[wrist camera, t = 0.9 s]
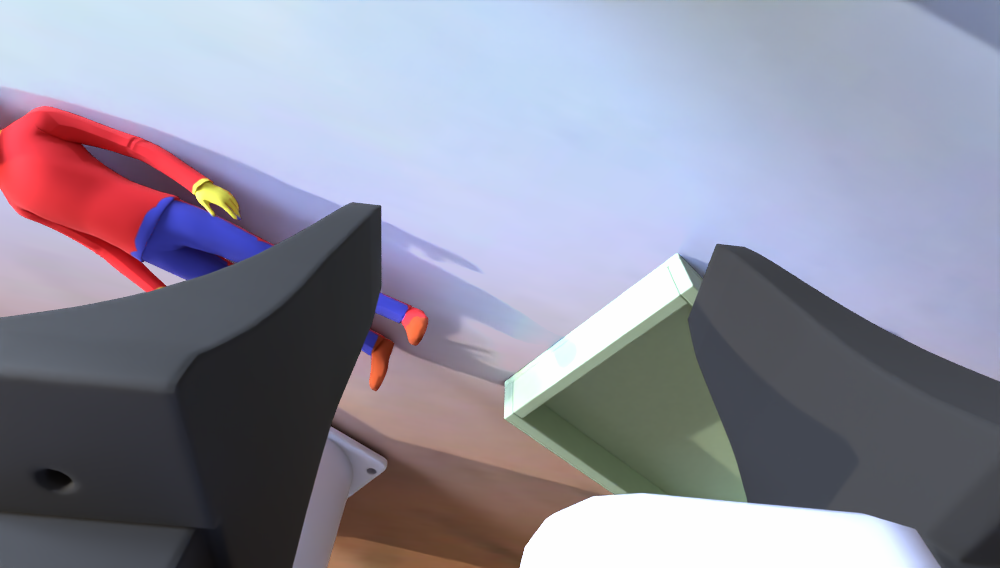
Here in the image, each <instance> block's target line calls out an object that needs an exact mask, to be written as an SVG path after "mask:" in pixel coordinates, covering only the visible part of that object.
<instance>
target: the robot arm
mask: <svg viewBox="0 0 1000 568" xmlns="http://www.w3.org/2000/svg"><path fill="white" fill-rule="evenodd" d="M380 290H381V206H380V205H372V204H363V203H354V202H352V203H349V204H347V205H345V206H343V207H342V208H340V209H338V210H336V211H335V212H333V213H331V214H330V215H328V216H326V217H325V218H323V219H321V220H320V221H318V222H316V223H314V224H313V225H311V226H309V227H308V228H306V229H304V230H302V231H301V232H299V233H297V234H295V235H294V236H292V237H290V238H288V239H286V240H284V241H282V242H280V243H278V244H276V245H274V246H272V247H270V248H268V249H266V250H264V251H262V252H260V253H258V254H256V255H254V256H252V257H249V258H247V259H245V260H242V261H240V262H238V263H235V264H233V265H230V266H227V267H225V268H222V269H220V270H217V271H215V272H212V273H209V274H206V275H203V276H200V277H196V278H193V279H190V280H186V281H183V282H180V283H176V284H173V285H170V286H166V287H163V288H160V289H156V290H152V291H149V292H144V293H140V294H136V295H132V296H128V297H123V298H118V299H113V300H109V301H104V302H99V303H94V304H88V305H83V306H77V307H71V308H64V309H58V310H51V311H44V312H37V313H30V314H23V315H16V316H9V317H0V568H327V566H328V563H329V559H330V556H331V552H332V549H333V546H334V542H335V539H336V535H337V532H338V528H339V525H340V521H341V518H342V514H343V511H344V507H345V504H346V500H347V498H349V497H350V496H351V495H353V494H354V493H355V492H357V491H358V490H359V489H361V488H362V487H363V486H365V485H366V484H367V483H369V482H370V481H371V480H373V479H374V478H375V477H377V476H378V475H379V474H381V473H382V472H383V471H385V469H386V467H387V460H386V459H385V458H384V457H382V456H381V455H379V454H377V453H376V452H374V451H372V450H370V449H369V448H367V447H365V446H364V445H362V444H360V443H359V442H357V441H355V440H353V439H352V438H350V437H348V436H347V435H345V434H343V433H341V432H340V431H338V430H336V429H335V428H333V427H331V423H332V420H333V418H334V415H335V412H336V409H337V407H338V404H339V401H340V399H341V397H342V394H343V392H344V390H345V387H346V385H347V382H348V380H349V378H350V375H351V373H352V371H353V368H354V366H355V363H356V361H357V359H358V356H359V354H360V352H361V349H362V347H363V344H364V342H365V339H366V337H367V335H368V332H369V330H370V327H371V325H372V322H373V318H374V314H375V310H376V306H377V302H378V298H379V294H380ZM688 324H689V329H690V334H691V339H692V343H693V347H694V351H695V355H696V359H697V361H698V364H699V367H700V369H701V372H702V375H703V377H704V380H705V382H706V385H707V387H708V390H709V392H710V395H711V397H712V400H713V402H714V405H715V407H716V409H717V412H718V414H719V417H720V419H721V422H722V424H723V427H724V429H725V432H726V434H727V437H728V439H729V442H730V444H731V447H732V450H733V453H734V456H735V459H736V462H737V465H738V469H739V472H740V476H741V480H742V483H743V487H744V491H745V494H746V498H747V502H748V503H745V502H734V501H724V500H713V499H702V498H691V497H680V496H669V495H658V494H647V493H635V494H621V495H607V496H593V497H591V498H588V499H586V500H584V501H581V502H579V503H577V504H575V505H572V506H570V507H568V508H565V509H563V510H561V511H559V512H556V513H554V514H552V515H551V516H550V517H548V518H547V519H546V520H545V521H544V522H543V524H542V525H541V526H540V528H539V529H538V530H537V532H536V533H535V534H534V536H533V537H532V538H531V540H530V541H529V542H528V544H527V545H526V546H525V549H524V553H523V557H522V561H521V565H520V568H1000V382H999V381H997V380H994V379H992V378H989V377H987V376H984V375H982V374H979V373H977V372H975V371H972V370H970V369H967V368H965V367H963V366H960V365H958V364H955V363H953V362H950V361H948V360H946V359H944V358H942V357H939V356H937V355H935V354H933V353H930V352H928V351H926V350H924V349H922V348H920V347H918V346H916V345H914V344H912V343H910V342H908V341H906V340H904V339H902V338H900V337H898V336H896V335H894V334H892V333H890V332H888V331H886V330H884V329H882V328H880V327H878V326H877V325H875V324H873V323H871V322H869V321H868V320H866V319H864V318H862V317H861V316H859V315H857V314H856V313H854V312H852V311H850V310H849V309H847V308H845V307H843V306H842V305H840V304H839V303H837V302H835V301H834V300H832V299H830V298H829V297H827V296H825V295H824V294H822V293H821V292H819V291H818V290H816V289H814V288H813V287H811V286H810V285H808V284H807V283H805V282H803V281H802V280H800V279H799V278H797V277H796V276H794V275H792V274H791V273H789V272H788V271H786V270H785V269H783V268H781V267H780V266H778V265H777V264H775V263H773V262H772V261H770V260H768V259H767V258H765V257H763V256H762V255H760V254H758V253H756V252H754V251H752V250H750V249H748V248H745V247H740V246H731V245H722V244H716V247H715V249H714V252H713V254H712V257H711V260H710V262H709V265H708V267H707V270H706V273H705V275H704V278H703V281H702V283H701V286H700V288H699V291H698V294H697V296H696V299H695V301H694V304H693V307H692V309H691V312H690V315H689V317H688Z"/></svg>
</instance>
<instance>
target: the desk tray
mask: <svg viewBox="0 0 1000 568" xmlns="http://www.w3.org/2000/svg"><path fill="white" fill-rule="evenodd" d="M702 281H703V278H702V277H701V276H700V275H699V274H698V273H697V272H696V271H695V270H694V269H693V268H692V267H691V266H690V265H689V264H688V263H687V262H686V261H685V260H684V259H683V258H682V257H681V256H680V255H679V254H678V253H676V254H675V255H674V256H672V257H671V258H670V259H668V260H667V261H666V262H664V263H663V264H662V265H660V266H659V267H658V268H656V269H655V270H654V271H652V272H651V273H650V274H648V275H647V276H646V277H644V278H643V279H642V280H640V281H639V282H638V283H636V284H635V285H634V286H632V287H631V288H630V289H628V290H627V291H626V292H624V293H623V294H622V295H620V296H619V297H618V298H616V299H615V300H614V301H612V302H611V303H610V304H608V305H607V306H606V307H604V308H603V309H602V310H600V311H599V312H598V313H596V314H595V315H594V316H592V317H591V318H590V319H588V320H587V321H585V322H584V323H583V324H581V325H580V326H579V327H577V328H576V329H575V330H573V331H572V332H571V333H569V334H568V335H567V336H565V337H564V338H563V339H561V340H560V341H559V342H557V343H556V344H555V345H553V346H552V347H551V348H549V349H548V350H547V351H545V352H544V353H543V354H541V355H540V356H539V357H537V358H536V359H535V360H533V361H532V362H531V363H529V364H528V365H527V366H525V367H524V368H523V369H521V370H520V371H519V372H517V373H516V374H515V375H513V376H512V377H511V378H509V379H508V380H507V381H505V400H504V419H505V420H507V421H508V422H509V423H511V424H512V425H514V426H515V427H517V428H518V429H520V430H521V431H523V432H524V433H525V434H527V435H528V436H530V437H531V438H533V439H534V440H536V441H537V442H539V443H540V444H541V445H543V446H544V447H546V448H547V449H549V450H550V451H552V452H553V453H555V454H556V455H557V456H559V457H560V458H562V459H563V460H565V461H566V462H568V463H569V464H571V465H572V466H573V467H575V468H576V469H578V470H579V471H581V472H582V473H584V474H585V475H587V476H588V477H590V478H591V479H592V480H594V481H595V482H597V483H598V484H600V485H601V486H603V487H604V488H606V489H607V490H608V491H610V492H611V493H613V494H614V495H621V494H635V493H647V494H658V495H669V496H680V497H691V498H702V499H713V500H724V501H734V502H745V503H748V502H747V498H746V494H745V491H744V487H743V483H742V480H741V476H740V472H739V469H738V465H737V462H736V459H735V456H734V453H733V450H732V447H731V444H730V442H729V439H728V437H727V434H726V432H725V429H724V427H723V424H722V422H721V419H720V417H719V414H718V412H717V409H716V407H715V405H714V402H713V400H712V397H711V395H710V392H709V390H708V387H707V385H706V382H705V380H704V377H703V375H702V372H701V369H700V367H699V364H698V361H697V359H696V355H695V351H694V347H693V343H692V339H691V334H690V329H689V324H688V317H689V315H690V312H691V309H692V307H693V304H694V301H695V299H696V296H697V294H698V291H699V288H700V286H701V283H702Z"/></svg>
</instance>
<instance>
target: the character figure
mask: <svg viewBox="0 0 1000 568" xmlns="http://www.w3.org/2000/svg"><path fill="white" fill-rule="evenodd" d="M82 144H85V145H90V146H94V147H98V148H102V149H106V150H110V151H113V152H116V153H119V154H122V155H125V156H128V157H132V158H135V159H138V160H141V161H143V162H145V163H147V164H148V165H150V166H152V167H153V168H155V169H157V170H159V171H160V172H162V173H163V174H165V175H167V176H168V177H170V178H171V179H173V180H174V181H176V182H177V183H179V184H180V185H182V186H183V187H185V188H186V189H188V190H189V191H190V192H191V193H193V194H194V195H195V196H196V198H197V200H198V201H199V203H200V204H201V205H203V206H204V207H205V208H206V210H207V211H206V210H204V209H202V208H200V207H197V206H195V205H193V204H190V203H188V202H185V201H182V200H180V198H179V197H178V196H175V195H172V194H168V193H164V192H160V191H157V190H154V189H152V188H149V187H146V186H143V185H140V184H137V183H135V182H133V181H130V180H128V179H126V178H125V177H123V176H121V175H119V174H118V173H116V172H114V171H113V170H111V169H110V168H108V167H107V166H105V165H104V164H102V163H101V162H100V161H99V160H97V159H96V158H95V157H93V156H92V155H91V154H90V153H89V152H88V151H87V150H86V149H85V148H84V146H83V145H82ZM0 189H1V190H2V192H3V194H4V195H5V197H6V199H7V200H8V202H9V204H10V205H11V206H12V207H13V208H14V210H15V211H16V212H17V213H18V214H19V215H21V216H23V217H25V218H28V219H30V220H33V221H36V222H38V223H41V224H43V225H45V226H48V227H50V228H52V229H54V230H56V231H58V232H60V233H62V234H64V235H66V236H68V237H70V238H72V239H73V240H75V241H77V242H79V243H81V244H82V245H84V246H86V247H87V248H89V249H90V250H92V251H94V252H95V253H96V254H98V255H100V256H101V257H103V258H104V259H105V260H106V261H107V262H108V263H110V264H111V265H112V266H113V267H114V268H116V269H117V270H118V271H119V272H121V273H122V274H123V275H125V276H126V277H127V278H129V279H130V280H131V281H133V282H134V283H135V284H137V285H138V286H139V287H140V288H142V289H143V290H144V291H146V292H149V291H152V290H156V289H160V288H163V287H166V285H165V284H164V283H163V282H162V281H160V280H159V279H158V278H157V277H156V276H155V275H154V274H153V273H152V272H151V271H150V270H149V269H148V268H147V267H146V266H145V265H144V264H143V263H142V262H144V261H146V262H148V263H150V264H153V265H155V266H157V267H159V268H161V269H164V270H166V271H168V272H170V273H172V274H174V275H177V276H179V277H181V278H183V279H186V280H190V279H193V278H196V277H200V276H203V275H206V274H209V273H212V272H215V271H217V270H220V269H222V268H225V267H227V266H230V265H233V264H234V263H232V262H230V261H228V260H226V259H229V260H231V261H234V262H237V263H238V262H240V261H242V260H245V259H247V258H249V257H252V256H254V255H256V254H258V253H260V252H262V251H264V250H266V249H268V248H270V247H272V246H274V245H273V244H271V243H269V242H267V241H265V240H264V239H262V238H260V237H258V236H256V235H254V234H252V233H250V232H248V231H247V230H245V229H243V228H241V227H239V226H237V225H235V224H233V223H231V222H229V221H227V220H225V219H223V218H221V217H219V216H216V214H215V213H214V211H213V210H212V208H211V207H210V203H212V204H216V205H218V206H220V207H222V208H223V209H224V210H225V211H227V212H228V213H229V214H230V215H231V216H232V217H233V218H234V219H238V220H241V216H240V211H239V208H238V207H239V205H238V203H237V201H236V199H235V198H234V197H233V195H232V194H231V193H230V192H229V191H227V190H225V189H223V188H221V187H218V186H216V185H214V184H213V181H211V180H210V179H208V178H207V177H205V176H204V175H202V174H201V173H199V172H198V171H196V170H195V169H193V168H192V167H190V166H189V165H187V164H186V163H184V162H183V161H182V160H180V159H179V158H177V157H176V156H174V155H173V154H171V153H170V152H168V151H166V150H165V149H163V148H161V147H160V146H158V145H155V144H153V143H151V142H149V141H147V140H144V139H142V138H140V137H137V136H133V135H130V134H127V133H124V132H121V131H118V130H115V129H113V128H110V127H108V126H105V125H102V124H100V123H97V122H94V121H92V120H89V119H87V118H84V117H81V116H79V115H76V114H73V113H70V112H67V111H63V110H60V109H57V108H53V107H47V106H43V107H39V108H35V109H33V110H32V111H30V112H29V113H28V114H26V115H25V116H23V117H22V118H20V119H18V120H17V121H15V122H13V123H12V124H10V125H9V126H7V127H6V128H4V129H2V130H0ZM228 206H229V207H230V208H231V209H232V210H231V209H230V208H229V207H228ZM232 211H233V212H234V213H233V212H232ZM225 258H226V259H225ZM375 313H377V314H379V315H382V316H384V317H386V318H388V319H391V320H393V321H395V322H397V323H402V324H403V326H404V328H405V330H406V332H407V337H408V341H409V342H410V344H412V345H415V346H416V345H418V344H419V342H420V341H421V340H422V338H423V336H424V334H425V331H426V329H427V325H428V317H427V316H426V315H425V314H424V312H423V311H422V310H420V309H417V308H414V307H412V306H411V305H408V304H406V303H404V302H401V301H399V300H396V299H394V298H392V297H389V296H387V295H385V294H383V293H380V294H379V298H378V302H377V306H376V310H375ZM393 346H394V343H393V342H392V341H391V340H389V339H386V338H385V337H384V336H382V335H380V334H378V333H376V332H374V331H373V330H371V329H370V330H369V332H368V335H367V337H366V339H365V342H364V344H363V347H362V349H361V350H362V351H364V352H365V353H367V354H368V355H371V374H370V379H369V383H370V387H371V389H372V390H374V391H377V390H378V389H379V387H380V386H381V384H382V382H383V380H384V377H385V375H386V372H387V369H388V363H389V358H390V355H391V352H392V349H393Z"/></svg>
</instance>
